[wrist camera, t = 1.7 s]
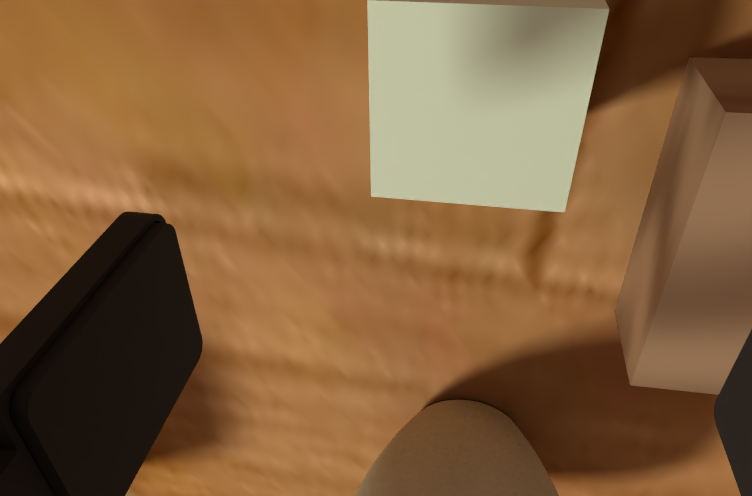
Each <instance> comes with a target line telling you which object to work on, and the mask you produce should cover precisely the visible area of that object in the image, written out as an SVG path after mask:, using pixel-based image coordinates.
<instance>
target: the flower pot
mask: <svg viewBox="0 0 752 496" xmlns="http://www.w3.org/2000/svg"><path fill="white" fill-rule="evenodd" d="M355 496H559V495H558V493H557V491H556V489H555V487H554V485H553V483H552V481H551V479H550V477H549V475H548V473H547V471H546V469H545V467H544V466H543V464H542V462H541V460H540V459H539V457H538V455H537V454H536V452H535V451H534V449H533V448H532V446H531V445H530V443H529V442H528V440H527V439H526V438H525V436H524V435H523V434H522V432H521V431H520V430H519V429H518V427H517V426H516V425H515V424H514V422H513V421H512V420H511V419H510V418H509V417H508V416H507V415H505V414H504V413H502V412H501V411H499V410H498V409H496V408H493V407H491V406H489V405H486V404H484V403H480V402H476V401H470V400H447V401H441V402H437V403H434V404H432V405H430V406H428V407H426V408H425V409H423V410H422V411H421V412H420V413H418V414H417V415H416V416H415V417H414V418H413V419H411V420H410V421H409V422H408V423H407V424H406V425H405V426H404V427H403V428H402V429H401V430H400V431H399V432H398V433H397V434H396V436H395V437H394V438H393V439H392V440H391V442H390V443H389V444H388V445H387V446H386V448H385V449H384V450H383V451H382V453H381V454H380V456H379V457H378V458H377V460H376V461H375V463H374V464H373V465H372V467H371V469H370V470H369V472H368V473H367V475H366V477H365V478H364V480H363V482H362V483H361V485H360V487H359V489H358V491H357V493H356V495H355Z"/></svg>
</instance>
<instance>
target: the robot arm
mask: <svg viewBox="0 0 752 496" xmlns="http://www.w3.org/2000/svg"><path fill="white" fill-rule="evenodd" d="M201 352H202V336H201V332H200V328H199V324H198V320H197V316H196V312H195V308H194V304H193V300H192V296H191V292H190V288H189V284H188V280H187V276H186V272H185V268H184V264H183V260H182V256H181V252H180V248H179V244H178V240H177V236H176V232H175V229H174V227H173V226H172V225H170V224H166V221H165V219H164V218H163V217H162V216H161V215H159V214H150V213H138V212H124V213H122V214H121V215H120V216H119V217H118V218H117V219H116V220H115V221H114V222H113V223H112V224H111V225H110V226H109V228H108V229H107V230H106V231H105V232H104V233H103V234H102V235H101V236H100V237H99V238H98V239H97V240H96V242H95V243H94V244H93V245H92V246H91V247H90V248H89V249H88V250H87V251H86V252H85V253H84V254H83V256H82V257H81V258H80V259H79V260H78V261H77V262H76V263H75V264H74V265H73V266H72V267H71V268H70V269H69V271H68V272H67V273H66V274H65V275H64V276H63V277H62V278H61V279H60V280H59V281H58V282H57V283H56V285H55V286H54V287H53V288H52V289H51V290H50V291H49V292H48V293H47V294H46V295H45V296H44V297H43V299H42V300H41V301H40V302H39V303H38V304H37V305H36V306H35V307H34V308H33V309H32V310H31V311H30V312H29V314H28V315H27V316H26V317H25V318H24V319H23V320H22V321H21V322H20V323H19V324H18V325H17V326H16V328H15V329H14V330H13V331H12V332H11V333H10V334H9V335H8V336H7V337H6V338H5V339H4V340H3V342H2V343H1V344H0V496H125V495H126V493H127V491H128V489H129V487H130V485H131V484H132V482H133V480H134V478H135V476H136V474H137V473H138V471H139V469H140V467H141V465H142V463H143V461H144V460H145V458H146V456H147V454H148V452H149V450H150V449H151V447H152V445H153V443H154V441H155V439H156V438H157V436H158V434H159V432H160V430H161V428H162V427H163V425H164V423H165V421H166V419H167V417H168V416H169V414H170V412H171V410H172V408H173V406H174V404H175V403H176V401H177V399H178V397H179V395H180V393H181V392H182V390H183V388H184V386H185V384H186V382H187V381H188V379H189V377H190V375H191V373H192V371H193V370H194V368H195V366H196V364H197V362H198V360H199V358H200V355H201ZM714 416H715V422H716V426H717V428H718V431H719V434H720V437H721V440H722V443H723V445H724V448H725V451H726V454H727V457H728V460H729V462H730V465H731V468H732V471H733V474H734V477H735V480H736V482H737V485H738V488H739V491H740V494H741V496H752V329H751V331H750V333H749V335H748V337H747V339H746V341H745V343H744V345H743V347H742V349H741V351H740V353H739V355H738V357H737V359H736V361H735V363H734V365H733V367H732V369H731V371H730V373H729V375H728V377H727V379H726V381H725V383H724V385H723V387H722V389H721V391H720V393H719V395H718V397H717V399H716V402H715V407H714Z"/></svg>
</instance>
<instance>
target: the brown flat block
mask: <svg viewBox="0 0 752 496" xmlns="http://www.w3.org/2000/svg"><path fill="white" fill-rule="evenodd" d="M615 316H616V321H617V325H618V330H619V335H620V340H621V345H622V349H623V354H624V359H625V364H626V368H627V373H628V378H629V383H630V385H632V386H641V387H650V388H660V389H669V390H679V391H688V392H697V393H707V394H716V395H719V393H720V391H721V389H722V387H723V385H724V383H725V381H726V379H727V377H728V375H729V373H730V371H731V369H732V367H733V365H734V363H735V361H736V359H737V357H738V355H739V353H740V351H741V349H742V347H743V345H744V343H745V341H746V339H747V337H748V335H749V333H750V331H751V329H752V59H736V58H701V57H689V59H688V62H687V65H686V69H685V72H684V76H683V79H682V82H681V86H680V89H679V93H678V96H677V100H676V103H675V106H674V110H673V113H672V117H671V120H670V123H669V127H668V130H667V134H666V137H665V141H664V144H663V147H662V151H661V154H660V158H659V161H658V165H657V168H656V171H655V175H654V178H653V182H652V185H651V188H650V192H649V195H648V199H647V202H646V206H645V209H644V212H643V216H642V219H641V223H640V226H639V229H638V233H637V236H636V240H635V243H634V247H633V250H632V253H631V257H630V260H629V264H628V267H627V271H626V274H625V277H624V281H623V284H622V288H621V291H620V294H619V298H618V301H617V305H616V308H615Z"/></svg>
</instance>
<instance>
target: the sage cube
mask: <svg viewBox="0 0 752 496" xmlns="http://www.w3.org/2000/svg"><path fill="white" fill-rule="evenodd" d="M367 3H368V56H369V109H370V161H371V196H372V197H385V198H397V199H409V200H421V201H433V202H445V203H457V204H469V205H481V206H494V207H506V208H518V209H530V210H542V211H554V212H565V208H566V204H567V199H568V195H569V190H570V186H571V181H572V177H573V172H574V168H575V163H576V159H577V154H578V149H579V145H580V140H581V136H582V131H583V127H584V122H585V118H586V113H587V109H588V104H589V99H590V95H591V90H592V86H593V81H594V77H595V72H596V68H597V63H598V59H599V54H600V49H601V45H602V40H603V36H604V31H605V27H606V22H607V18H608V13H609V7H608V5H607V3H606V1H605V0H367Z"/></svg>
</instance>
